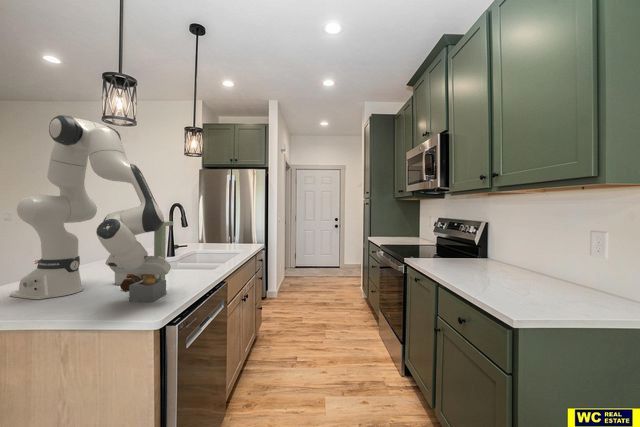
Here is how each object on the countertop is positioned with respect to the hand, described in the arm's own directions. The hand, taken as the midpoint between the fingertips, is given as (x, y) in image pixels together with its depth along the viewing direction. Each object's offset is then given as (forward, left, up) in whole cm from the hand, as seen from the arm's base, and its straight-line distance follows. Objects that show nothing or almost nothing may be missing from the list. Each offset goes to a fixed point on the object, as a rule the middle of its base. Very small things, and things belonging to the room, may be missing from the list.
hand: (150, 277), depth 113 cm
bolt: (-16, +15, -9) cm, 23 cm away
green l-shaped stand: (-1, +3, -8) cm, 9 cm away
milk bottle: (-24, +19, -8) cm, 31 cm away
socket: (-1, 0, -8) cm, 8 cm away
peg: (0, -1, -5) cm, 5 cm away
